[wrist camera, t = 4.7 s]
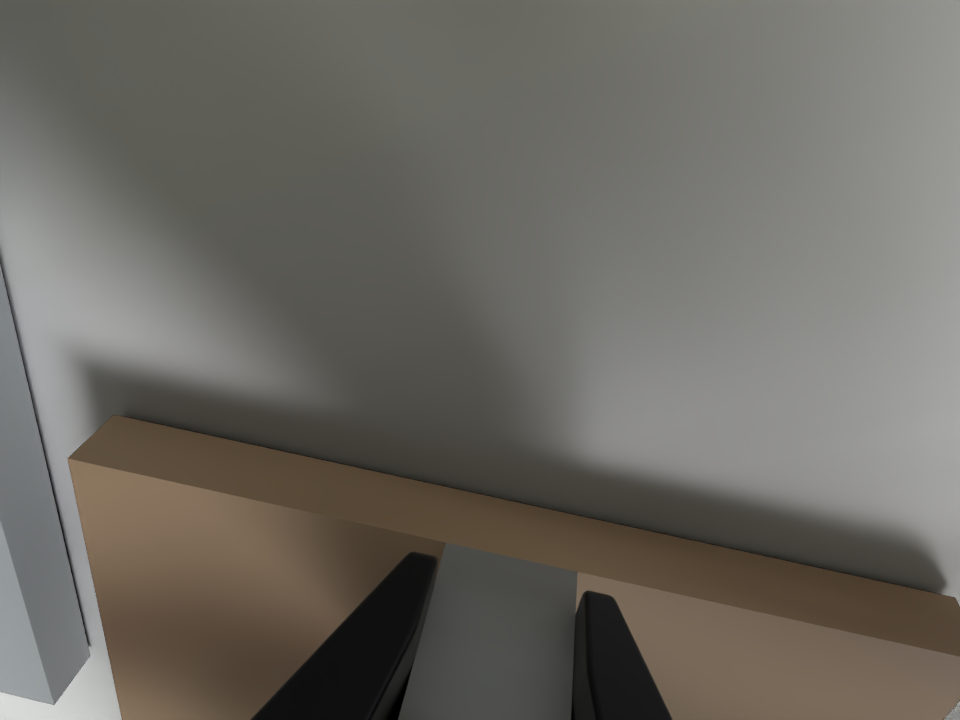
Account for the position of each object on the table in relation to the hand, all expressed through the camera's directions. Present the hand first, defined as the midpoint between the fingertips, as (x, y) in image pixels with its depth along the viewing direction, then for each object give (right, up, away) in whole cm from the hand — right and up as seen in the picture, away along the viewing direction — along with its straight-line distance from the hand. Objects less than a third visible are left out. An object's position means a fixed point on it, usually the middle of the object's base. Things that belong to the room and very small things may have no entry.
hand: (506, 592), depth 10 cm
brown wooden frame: (-1, -6, +6) cm, 9 cm away
